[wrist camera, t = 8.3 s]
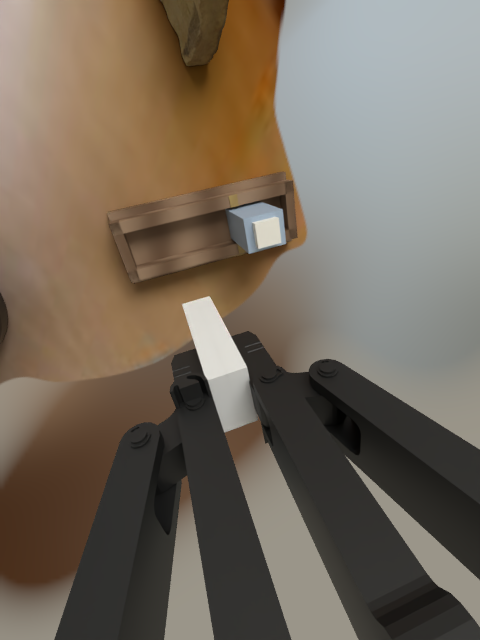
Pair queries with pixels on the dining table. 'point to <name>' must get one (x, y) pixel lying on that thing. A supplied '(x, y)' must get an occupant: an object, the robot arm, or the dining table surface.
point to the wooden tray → (193, 226)
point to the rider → (256, 226)
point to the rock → (197, 27)
